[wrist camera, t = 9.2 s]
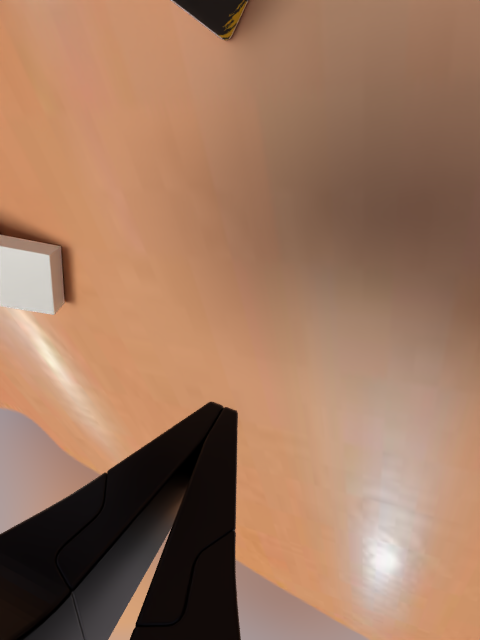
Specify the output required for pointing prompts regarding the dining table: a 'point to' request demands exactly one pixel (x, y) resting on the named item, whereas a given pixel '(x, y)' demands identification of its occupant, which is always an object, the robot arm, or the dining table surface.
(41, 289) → the domino
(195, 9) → the medicine bottle
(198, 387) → the dining table surface
